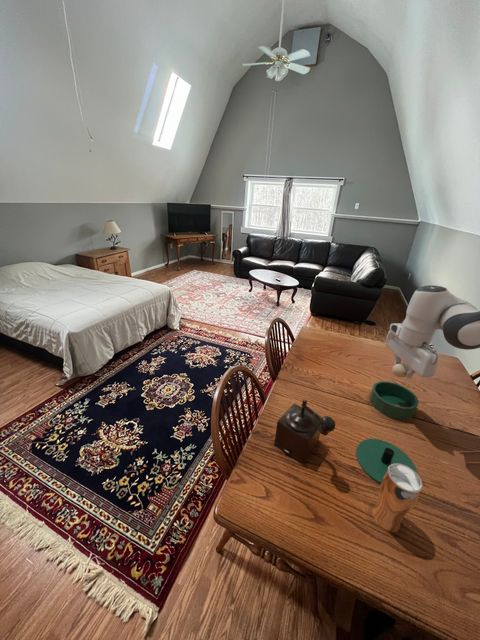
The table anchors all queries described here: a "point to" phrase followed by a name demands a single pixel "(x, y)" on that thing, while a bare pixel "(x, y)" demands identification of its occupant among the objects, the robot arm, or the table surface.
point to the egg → (400, 369)
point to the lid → (380, 457)
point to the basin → (393, 400)
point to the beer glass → (396, 496)
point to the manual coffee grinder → (301, 431)
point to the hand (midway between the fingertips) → (402, 371)
